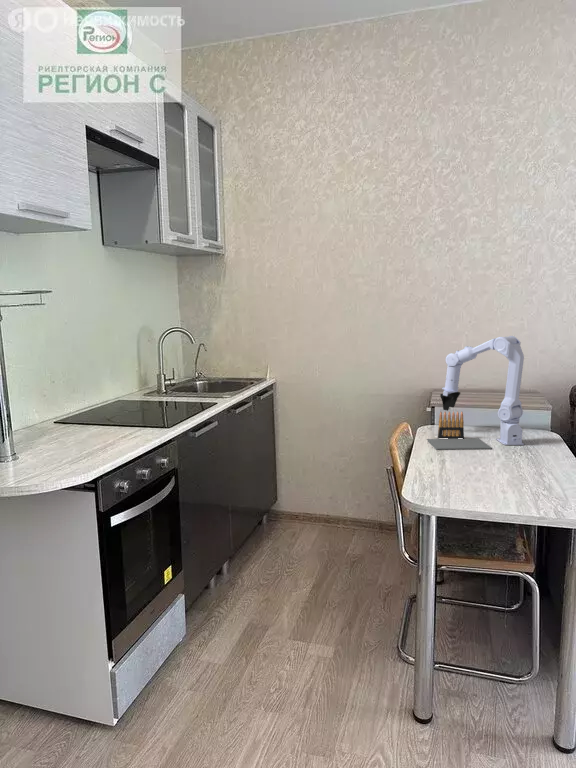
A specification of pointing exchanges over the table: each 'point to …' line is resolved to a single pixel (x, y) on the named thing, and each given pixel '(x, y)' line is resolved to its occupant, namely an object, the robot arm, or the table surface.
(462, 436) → the ammunition clip
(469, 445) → the mat
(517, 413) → the robot arm
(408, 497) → the table surface
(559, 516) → the table surface
